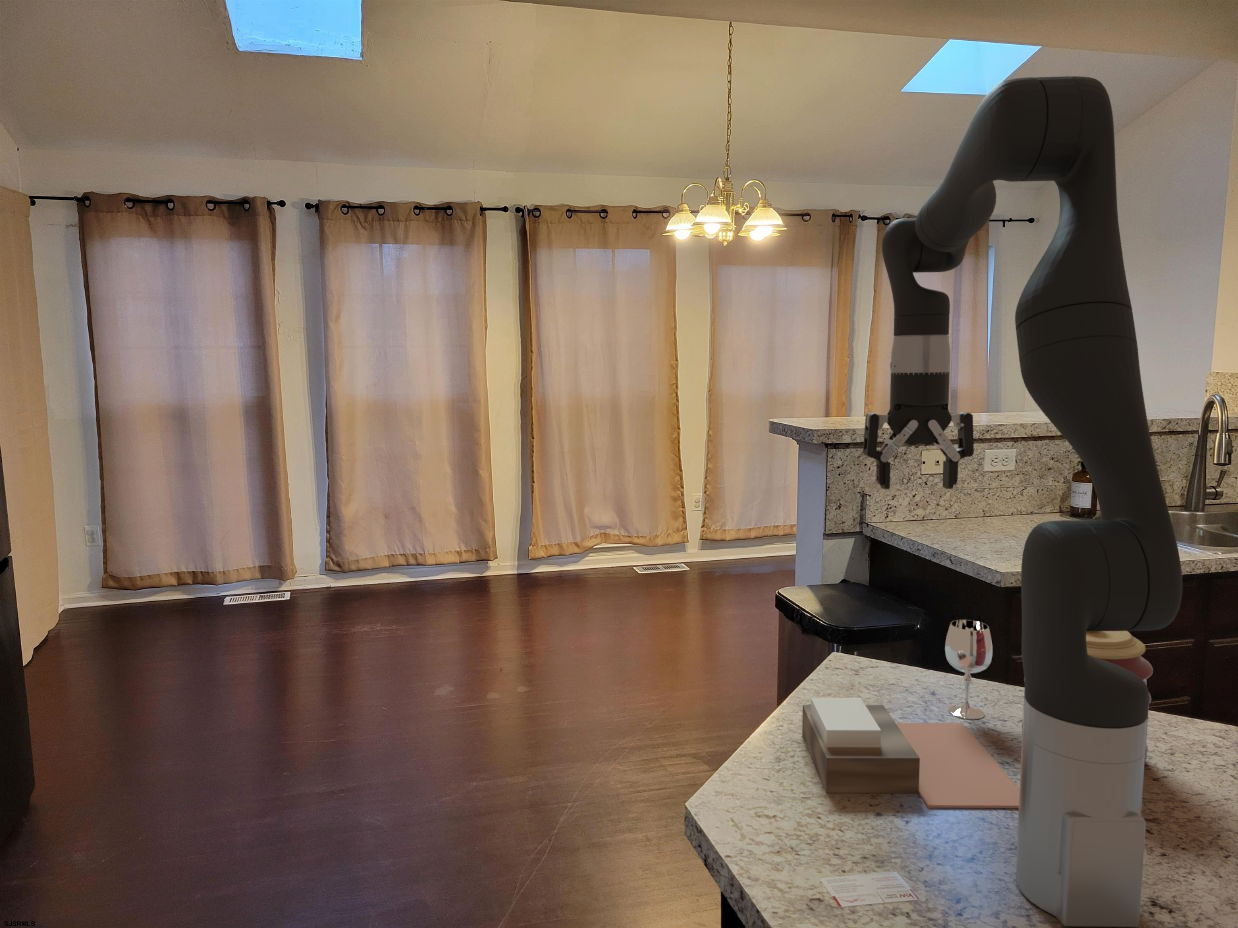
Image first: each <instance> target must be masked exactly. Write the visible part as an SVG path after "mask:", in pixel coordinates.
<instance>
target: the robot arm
mask: <svg viewBox="0 0 1238 928" xmlns="http://www.w3.org/2000/svg"><path fill="white" fill-rule="evenodd" d="M1114 123H1115V122H1114V114H1113V109H1112V104H1111V99H1110V95H1109V93H1108V91H1107V88H1106V87H1105V86H1104V84H1103V83H1102V82H1101V81H1100V80H1098V79H1096V78H1094V77H1089V76H1075V75H1074V76H1072V75H1068V76H1039V77H1037V76H1035V77H1032V76H1030V77H1019V78H1018V77H1017V78H1011V79H1005V80H1002V81H1001V82H999V83H998V84H996V85H995V86H993V88H991V90H990V91H988V93H987V94H986V95H985V96H984V98H983V99H982V100H981V102H980V104H979V106H978V107H977V109H976V111H975V113H974V114H973V117H972V119H971V121H970V122H969V125H968V127H967V129H966V131H965V134H964V136H963V137H962V140H961V141H960V144H959V145H958V148H957V150H956V152H955V155H954V156H953V159H952V161H951V163H950V166H949V168H948V170H947V172H946V174H945V177H944V178H943V180H942V182H941V183H940V185H939V186H938V187H937V188H936V189H935V190H934V192H933V193H932V194H931V195H930V196H929V198H928V199H927V200H926V201H925V202H924V203H923V205H922V206H921V207H920V208H919V211H918V213H917V215H916V217H915V218H914V217H909V218H908V217H907V218H898V219H895V220H894V221H892V222H891V223H890V224H889V225H888V226H887V228H886V229H885V231H884V233H883V236H882V239H881V254H882V258H883V262H884V267H885V270H886V273H887V277H888V281H889V285H890V290H891V293H892V300H893V341H892V347H891V354H890V363H889V369H890V382H889V383H890V384H889V386H890V392H889V397H890V398H889V410H888V413H887V414H877V413H873V412H868V413H866V415H865V418H864V419H865V420H864V421H865V423H864V433H863V443H862V444H863V446H862V454H863V455H864V456H867V457H869V458H872V459H873V460H875V461H876V467H875V468H876V469H875V471H876V472H875V473H876V474H875V475H876V476H875V481H876V483H877V484H878V485H880V488H881V489H883V490H890V488H891V462H890V459H891V458H892V457H893V456H894V454H895V453H896V452H897V451H898V450H899V449H901V447H902V446H903V444H904V445H908V446H915V445H920V444H922V445H926V446H927V445H928V446H932V445H933V444H934V445H935V447H936V448H938V450H939V451H940V452H941V453H942V455H943V456H944V457H945V460H942V464H943V465H942V488H944V489H946V490H953V488H954V485H955V486H956V485H957V483H958V480H959V479H958V478H959V462H960V461H961V460H963V459H964V458H971V457H973V455H974V454H975V450H974V449H975V446H974V415H973V413H970V412H966V411H960V412H958V413H951V412H950V410H949V402H950V401H949V400H950V378H951V377H950V376H951V375H950V374H951V373H950V372H951V371H950V370H951V346H950V332H949V331H950V313H951V312H950V311H951V309H950V308H951V306H950V305H951V304H950V303H951V301H950V297H949V295H948V294H947V293H946V292H944V291H940V290H936V289H931V288H926V287H924V286H921V285H920V284H919V282H918V281H917V279H916V277H915V275H914V273H917V274H919V273H943V272H948V271H951V270H952V271H953V270H954V269H956V268H958V267H959V266H960V265H961V264H962V262H963V260H964V258H965V254H966V250H967V246H968V244H969V242H970V240H971V239H972V238H973V237H974V236H975V235H976V234H977V233H979V231H981V230H982V228H984V226H985V225H986V224H987V223H988V222H989V220H990V219H991V217H992V216H993V213H994V211H995V208H996V204H997V190H996V186H995V183H994V181H1004V182H1010V183H1011V182H1012V183H1013V182H1014V183H1015V182H1016V183H1018V182H1054V183H1055V184H1056V186H1057V190H1058V194H1059V217H1058V218H1059V219H1058V224H1057V227H1056V228H1055V229H1056V230H1055V232H1054V234H1053V237H1052V239H1051V241H1050V243H1049V244H1048V247H1047V248H1046V250H1045V252H1044V253H1043V255H1042V256H1041V259H1040V260H1038V263H1037V265H1036V266H1035V268H1034V270H1033V271H1032V273H1031V275H1030V276H1029V278H1028V280H1027V282H1026V284H1025V285H1024V288H1023V289H1022V292H1021V294H1020V297H1019V299H1018V302H1017V304H1016V309H1015V313H1014V314H1015V315H1014V325H1015V334H1016V342H1017V351H1018V361H1019V367H1020V373H1021V377H1022V381H1023V384H1024V386H1025V388H1026V390H1027V392H1028V394H1029V395H1030V397H1031V399H1032V400H1033V401H1034V403H1035V404H1036V406H1037V407H1038V408H1039V409H1040V410H1041V412H1042V413H1043V415H1045V417H1046V418H1047V419H1048V420H1049V421H1050V423H1051V424H1052V425H1053V426H1054V427H1055V428H1056V430H1057V431H1058V432H1059V433H1060V435H1061V436H1063V438H1064V439H1065V440H1066V441H1067V442H1068V444H1069V446H1071V448H1072V449H1073V450H1074V452H1075V453H1076V454H1077V456H1078V457H1079V459H1080V460H1081V462H1082V463H1083V465H1084V467H1085V469H1086V471H1087V473H1088V475H1089V477H1090V479H1091V482H1092V485H1093V487H1094V491H1095V493H1096V498H1097V501H1098V506H1099V510H1100V514H1101V515H1100V516H1101V519H1094V520H1093V519H1090V520H1089V519H1086V520H1085V519H1081V520H1080V519H1078V520H1077V519H1076V520H1075V519H1074V520H1069V519H1067V520H1066V519H1065V520H1048V521H1044V522H1041V523H1038V524H1036V525H1035V526H1034V527H1033V528H1032V529H1031V530H1030V532H1029V534H1028V536H1027V537H1026V541H1025V543H1024V547H1023V551H1022V558H1021V565H1020V567H1021V574H1020V575H1021V576H1020V577H1021V578H1020V580H1021V581H1020V586H1021V587H1020V588H1021V589H1020V590H1021V593H1020V594H1021V659H1022V667H1023V676H1024V677H1025V682H1024V693H1023V694H1024V697H1023V712H1022V713H1023V715H1022V723H1023V729H1022V728H1021V750H1020V751H1021V753H1020V755H1021V757H1020V773H1019V775H1020V777H1019V788H1020V792H1019V808H1018V815H1017V816H1018V818H1017V835H1016V836H1017V841H1016V844H1017V845H1016V846H1017V847H1016V865H1015V866H1016V868H1015V869H1016V870H1015V882H1016V885H1017V888H1018V889H1019V891H1021V893H1022V894H1023V896H1024V897H1025V898H1027V899H1028V900H1029V901H1030V902H1031V903H1033V904H1034V905H1035V906H1037V907H1039V909H1041V910H1043V911H1045V912H1046V913H1049V914H1050V915H1052V916H1054V917H1056V918H1057V919H1058V920H1059V922H1060V923H1061V924H1062V925H1063V926H1065V927H1103V928H1104V927H1105V928H1106V927H1107V928H1108V927H1110V928H1112V927H1114V928H1115V927H1116V928H1117V927H1118V928H1119V927H1122V928H1123V927H1124V928H1138V927H1139V926H1140V916H1141V915H1140V914H1141V901H1142V898H1141V897H1142V887H1143V885H1142V884H1143V870H1144V859H1145V857H1144V854H1145V841H1146V839H1145V838H1146V826H1147V823H1146V820H1145V818H1144V817H1143V816H1142V807H1143V806H1142V805H1143V792H1144V789H1143V788H1144V778H1145V777H1144V774H1145V763H1144V761H1145V749H1146V744H1147V740H1146V734H1147V735H1148V725H1147V717H1148V718H1149V710H1148V707H1150V703H1149V693H1150V692H1149V688H1148V686H1146V684H1145V682H1144V681H1143V680H1142V679H1141V678H1140V677H1139V676H1137V675H1136V674H1134V673H1133V672H1131V671H1129V670H1127V669H1125V668H1123V667H1121V666H1119V665H1116V664H1113V663H1111V662H1108V661H1105V660H1101V659H1098V658H1095V657H1093V656H1090V655H1088V653H1087V644H1086V631H1128V632H1141V631H1142V632H1145V631H1146V632H1147V631H1156V630H1162V629H1164V628H1167V626H1169V625H1170V624H1171V623H1172V622H1174V620H1175V619H1176V617H1177V616H1178V613H1179V611H1180V607H1181V603H1182V597H1183V571H1182V564H1181V558H1180V552H1179V547H1178V543H1177V538H1176V535H1175V531H1174V527H1173V522H1172V519H1171V515H1170V512H1169V507H1168V503H1167V500H1166V497H1165V493H1164V489H1163V485H1162V482H1161V478H1160V473H1159V469H1158V466H1157V461H1156V458H1155V454H1154V449H1153V444H1152V438H1151V435H1150V434H1151V433H1150V427H1149V423H1148V422H1149V421H1148V417H1147V409H1146V405H1145V398H1144V391H1143V385H1142V377H1141V376H1142V375H1141V369H1140V368H1141V366H1140V359H1139V358H1140V357H1139V348H1138V347H1139V346H1138V339H1137V332H1136V328H1135V327H1136V325H1135V320H1134V313H1133V307H1132V303H1131V297H1130V292H1129V291H1130V290H1129V287H1128V281H1127V276H1126V275H1127V274H1126V269H1125V262H1124V256H1123V248H1122V240H1121V232H1120V225H1119V213H1118V197H1117V196H1118V195H1117V172H1116V170H1117V169H1116V146H1115V145H1116V144H1115V142H1116V141H1115V126H1114ZM885 423H886V424H887V426H889V428H890V430H891V431H892V432H891V433H890V434H889V435H888V436H887V437H886V439H885V441H884V443H883V444H882V446H881V447H880V448H879V449H877V447H878V438H879V431H880V430H882V429H883V427H884V425H885ZM951 423H952V425H953V426H954V428H955V429H957V448H955V446H954V445H953V443H952V441H951V440H950V438H949V437H948V436H947V434H946V433H945V431H946V430H947V428H948V426H949V425H950V424H951ZM1024 677H1023V678H1024ZM1145 762H1146V761H1145Z"/></svg>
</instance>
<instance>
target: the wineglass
mask: <svg viewBox="0 0 1238 928" xmlns="http://www.w3.org/2000/svg"><path fill="white" fill-rule="evenodd" d="M991 635H992V634H991V631H990V627H989V626H988V624H986V623H984V622H981V621H979V620H978V621H977V620H971V619H956V620H952V621H951V622H950V624H949V627H948V631H947V633H946V637H945V638H946V639H945V642H944V643H945V644H944V645H945V646H944V651H945V657H946V660H947V662H948V663H949V665H950V666H952V667H953V668H954V669H955V670H957V671H959V672H962V673H964V675H963V679H962V680H963V685H964V701H963V704H954V705H951V706H949V707H948V709H947V711H948V712H949V714H950V715H952V716H955V717H957V718H959V719H960V718H961V719H965V720H980V719H983V718H984V717H985V712H984V711H983V710H982V709H980V708H978V707H975V706H971V705H970V701H969V693H970V686H971V684H972V675H971V674H977V673H981V672H982V671H984V670H986V669H987V668H988V667H989V666H990V664H991V663H992V658H993V643H992V636H991Z"/></svg>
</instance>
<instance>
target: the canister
mask: <svg viewBox="0 0 1238 928" xmlns="http://www.w3.org/2000/svg"><path fill="white" fill-rule="evenodd" d="M1086 644H1087V653H1088V655H1090V656H1093V657H1095V658H1098V659H1101V660H1105V661H1108V662H1111V663H1113V664H1116V665H1119V666H1121V667H1123V668H1125V669H1127V670H1129V671H1131V672H1133V673H1134V674H1136V675H1137V676H1139V677H1140V678H1141V679H1142V680H1143V681H1144V682H1145V684H1146V686H1147V679H1148V678H1150V677H1151V676H1152V675H1153V672H1154V669H1153V666H1152V664H1151V663H1150V662H1149V661H1148V660H1147V659H1145V658H1144V657H1142V655H1144V654H1145V652H1146V645H1145V644H1144V643H1143V642H1142V641H1141V640H1140V639H1138V638H1136V637H1134V636H1133V635H1132V634H1131V633H1130V631H1086ZM1023 681H1024V683H1025V677H1023ZM1147 687H1148V686H1147ZM1151 701H1152V696H1151V693H1150V692H1149V704H1151ZM1149 707H1150V706H1149ZM1149 707H1148V711H1149ZM1148 721H1149V716H1148V717H1147V726H1148V725H1149V722H1148ZM1022 729H1023V722H1022V725H1021V730H1022ZM1147 736H1148V733H1147V734H1146V741H1147V739H1148V738H1147ZM1148 750H1149V749H1148V744H1147V743H1146V749H1145V761H1144V764H1145V763H1146V761H1147V759H1148Z"/></svg>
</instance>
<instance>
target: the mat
mask: <svg viewBox="0 0 1238 928" xmlns="http://www.w3.org/2000/svg"><path fill="white" fill-rule="evenodd" d="M895 723H896V724H897V726H898V727H899V729H900V730H901V732H902V733H903V734H904V736H905V737H906V739H907V740H908V742H909V743H910V745H911V746H912V748H913V749H914V750H915V752H916V753H917V755H918V756H919V758H920V769H919V793H918V795H920V797H921V800H923V802H924V803H925V804H924V805H926V807H927V808H928V809H1019V792H1020V786H1018V785H1017V784H1016V782H1014V780H1012V778H1011V777H1010V776H1009V775H1008V773H1007V772H1006V771H1005V770H1004V769H1003V768H1002V767H1001V765H1000V764H999V763H998V762H997V761H996V759H994V757H993V756H992V755H991V754H990V753H989V752H988V751H987V750H986V749H985V747H984V746H983V745H982V744H981V742H980V741H979V740H978V739H977V738H976V737H975V735H974V734H972V732H971V731H970V730H969V729H968V728H967V727H966V726H965V724H964V723H963V722H895Z"/></svg>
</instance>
